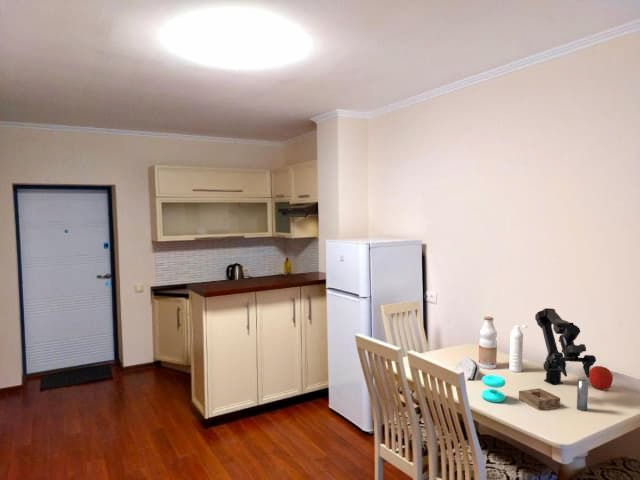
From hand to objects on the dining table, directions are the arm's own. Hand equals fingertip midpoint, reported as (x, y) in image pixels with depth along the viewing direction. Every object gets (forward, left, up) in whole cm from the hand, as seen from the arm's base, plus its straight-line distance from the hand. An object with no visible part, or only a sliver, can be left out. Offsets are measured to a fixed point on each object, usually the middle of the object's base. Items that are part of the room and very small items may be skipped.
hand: (577, 376), depth 206 cm
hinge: (+25, -46, -13) cm, 54 cm away
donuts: (+33, -15, -13) cm, 38 cm away
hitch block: (+16, -6, -12) cm, 21 cm away
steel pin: (+3, +5, -12) cm, 14 cm away
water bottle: (-6, -44, -13) cm, 47 cm away
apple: (-27, -11, -13) cm, 32 cm away
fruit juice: (+6, -54, -13) cm, 56 cm away
